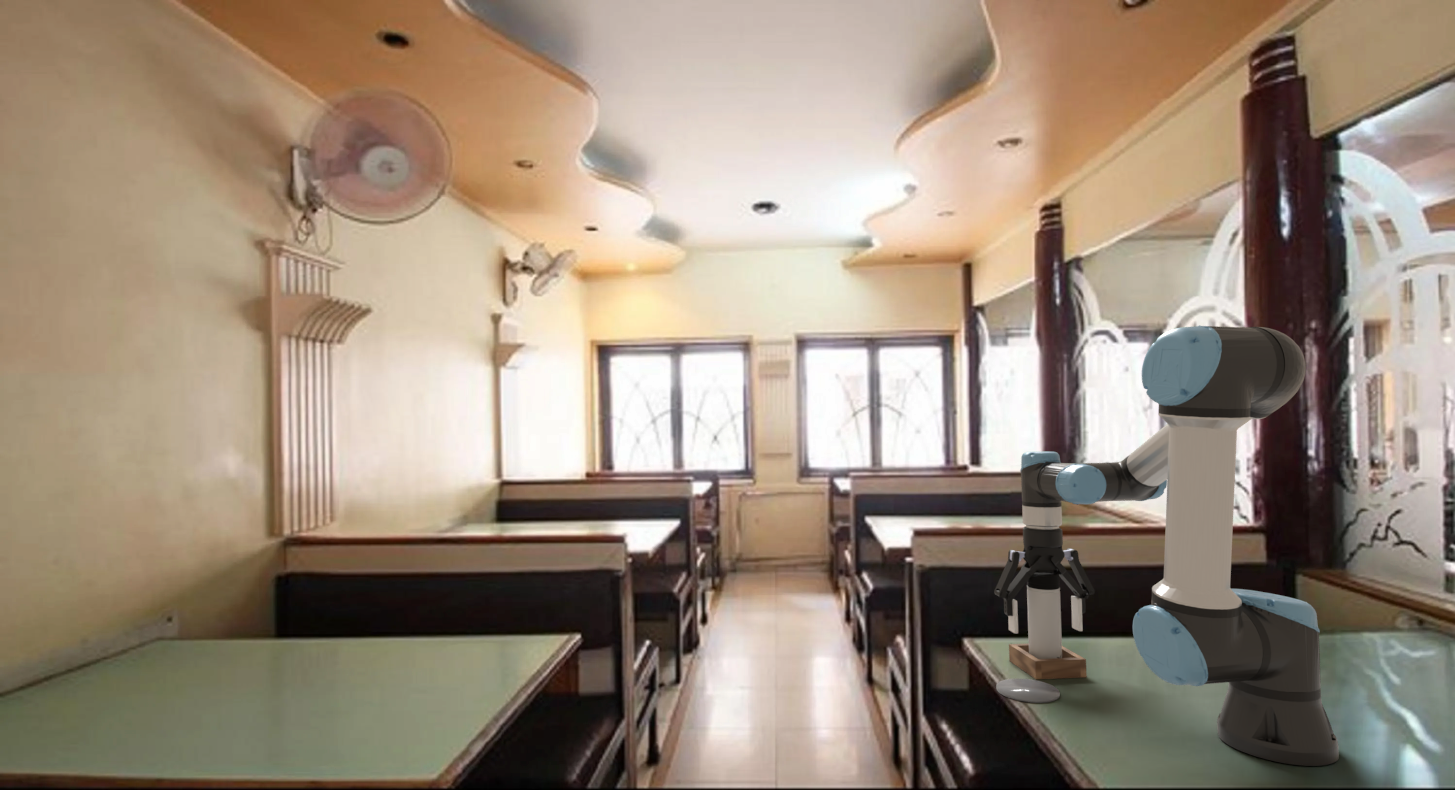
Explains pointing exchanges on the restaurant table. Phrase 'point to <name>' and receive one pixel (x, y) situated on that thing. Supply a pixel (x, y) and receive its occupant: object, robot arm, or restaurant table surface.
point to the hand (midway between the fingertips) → (1045, 630)
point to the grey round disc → (1028, 690)
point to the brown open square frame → (1048, 663)
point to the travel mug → (1044, 615)
